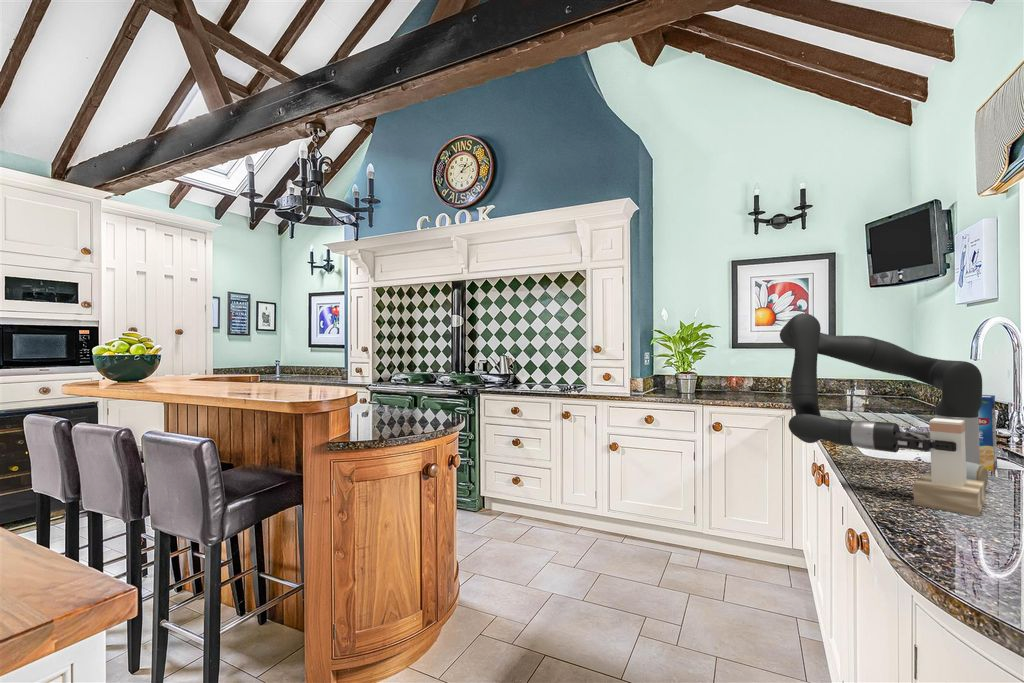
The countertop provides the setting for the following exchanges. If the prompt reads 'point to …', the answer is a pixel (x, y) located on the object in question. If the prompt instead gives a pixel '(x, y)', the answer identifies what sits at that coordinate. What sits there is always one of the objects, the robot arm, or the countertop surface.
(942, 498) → the tan wooden block
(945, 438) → the carton
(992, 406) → the blue pasta box
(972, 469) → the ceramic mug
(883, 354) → the robot arm
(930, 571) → the countertop surface
